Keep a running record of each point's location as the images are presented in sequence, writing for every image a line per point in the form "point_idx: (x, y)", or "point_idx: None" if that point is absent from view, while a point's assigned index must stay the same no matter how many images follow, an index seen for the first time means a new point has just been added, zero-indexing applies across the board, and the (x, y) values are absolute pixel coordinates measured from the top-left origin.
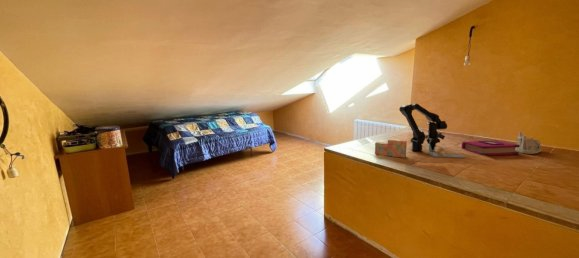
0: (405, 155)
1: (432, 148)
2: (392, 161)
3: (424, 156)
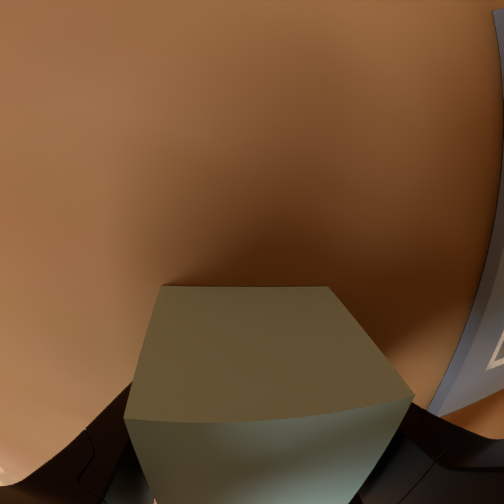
0: None
1: None
2: None
3: (496, 415)
